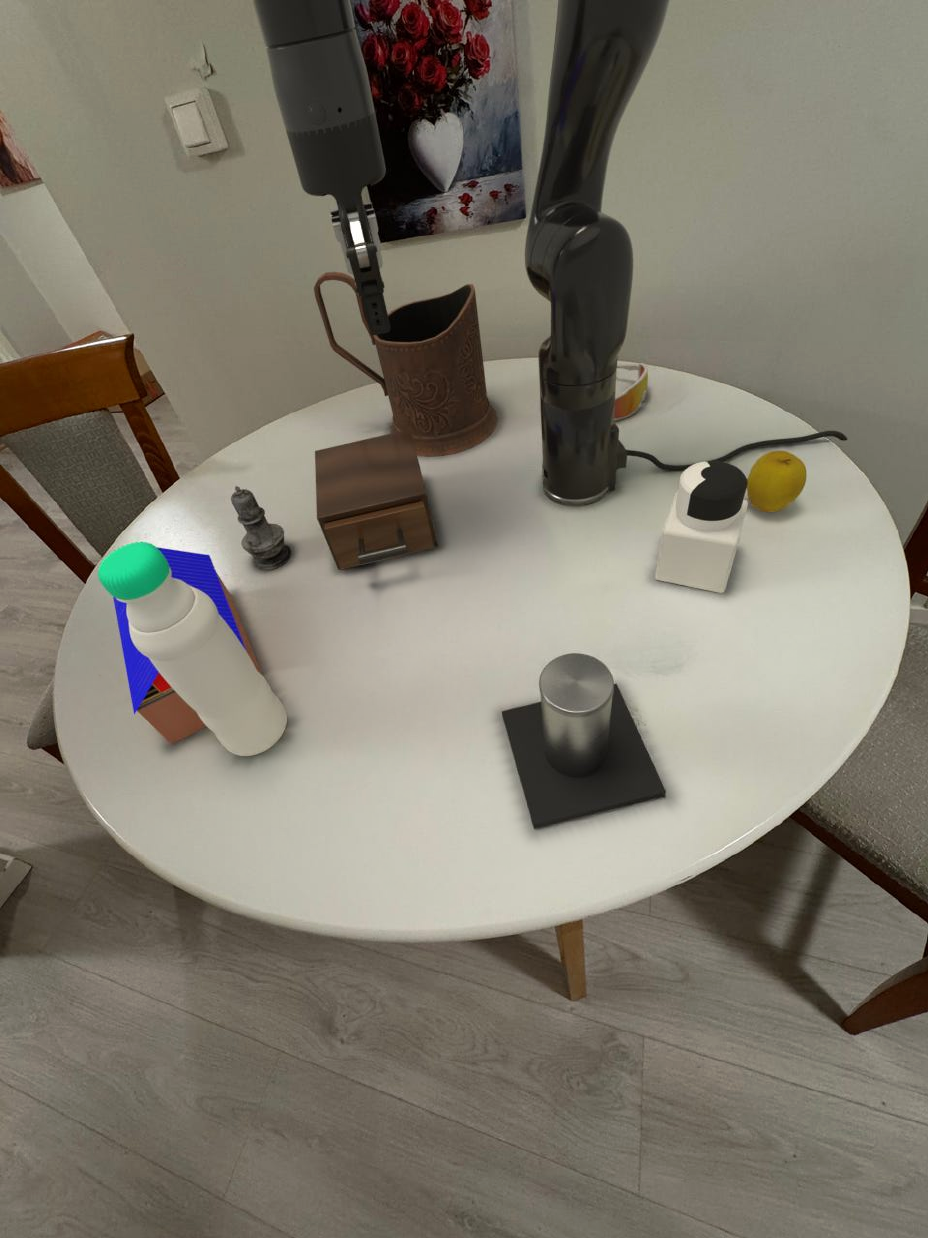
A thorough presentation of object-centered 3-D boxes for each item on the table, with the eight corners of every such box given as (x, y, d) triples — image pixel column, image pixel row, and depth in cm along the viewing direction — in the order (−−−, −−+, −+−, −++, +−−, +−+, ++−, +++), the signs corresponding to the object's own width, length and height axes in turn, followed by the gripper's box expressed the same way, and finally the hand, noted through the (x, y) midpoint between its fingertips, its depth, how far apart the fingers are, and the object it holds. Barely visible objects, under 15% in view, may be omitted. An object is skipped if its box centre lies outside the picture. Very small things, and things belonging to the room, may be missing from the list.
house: (168, 748, 62) (103, 685, 54) (143, 632, 75) (87, 566, 66) (273, 695, 65) (228, 627, 57) (232, 591, 78) (189, 523, 69)
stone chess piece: (283, 572, 79) (246, 501, 70) (245, 570, 80) (204, 500, 71) (299, 543, 83) (266, 472, 74) (262, 542, 84) (226, 472, 75)
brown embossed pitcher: (499, 449, 91) (480, 274, 73) (351, 465, 94) (297, 302, 76) (496, 391, 104) (480, 229, 85) (365, 407, 106) (322, 254, 88)
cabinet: (438, 546, 78) (426, 492, 72) (338, 569, 78) (316, 518, 71) (422, 480, 89) (410, 428, 82) (333, 501, 88) (314, 450, 82)
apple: (777, 529, 71) (796, 474, 66) (730, 508, 75) (744, 455, 69) (805, 503, 74) (826, 448, 68) (758, 485, 77) (773, 431, 71)
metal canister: (595, 715, 57) (599, 645, 49) (617, 769, 53) (625, 703, 45) (536, 729, 57) (530, 661, 48) (554, 784, 53) (551, 721, 45)
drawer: (439, 568, 74) (429, 526, 69) (342, 591, 73) (325, 551, 68) (419, 485, 86) (409, 444, 81) (336, 504, 86) (321, 464, 81)
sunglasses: (629, 429, 90) (627, 398, 86) (543, 425, 98) (538, 397, 94) (661, 385, 97) (660, 355, 94) (578, 385, 105) (574, 357, 102)
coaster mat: (615, 688, 60) (616, 683, 59) (665, 796, 52) (666, 792, 51) (502, 716, 59) (501, 711, 59) (533, 829, 51) (533, 824, 51)
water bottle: (228, 709, 65) (91, 538, 46) (290, 695, 65) (178, 519, 46) (221, 765, 60) (65, 601, 41) (288, 750, 60) (162, 579, 42)
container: (734, 550, 70) (760, 457, 60) (723, 595, 66) (750, 502, 56) (668, 538, 73) (683, 448, 63) (654, 580, 69) (667, 490, 59)
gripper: (381, 116, 43) (424, 348, 56) (367, 96, 52) (407, 300, 65) (282, 138, 43) (348, 366, 56) (285, 113, 52) (342, 315, 65)
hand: (380, 330), depth 61 cm, fingers closed
